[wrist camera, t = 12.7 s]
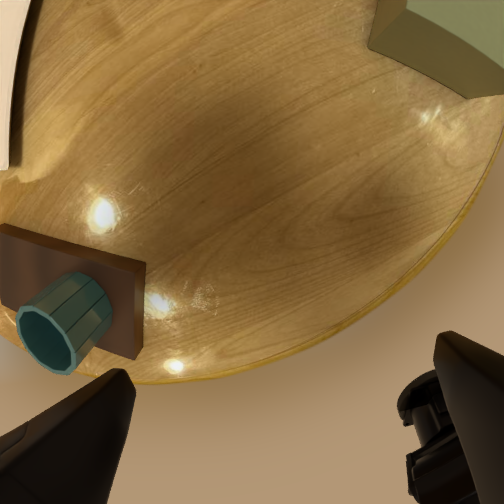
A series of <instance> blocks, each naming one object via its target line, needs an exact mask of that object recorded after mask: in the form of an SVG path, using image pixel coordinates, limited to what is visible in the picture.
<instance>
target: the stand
mask: <svg viewBox="0 0 504 504" xmlns="http://www.w3.org/2000/svg"><path fill="white" fill-rule="evenodd" d="M367 47H368V48H369V49H371V50H374V51H376V52H379V53H381V54H383V55H386V56H388V57H390V58H392V59H395V60H397V61H399V62H401V63H403V64H405V65H407V66H409V67H412V68H414V69H416V70H418V71H419V72H421V73H423V74H425V75H427V76H429V77H431V78H433V79H435V80H436V81H438V82H440V83H442V84H444V85H445V86H447V87H449V88H450V89H452V90H454V91H455V92H457V93H459V94H460V95H462V96H464V97H465V98H467V99H472V98H479V97H487V96H494V95H503V94H504V0H379V1H378V5H377V10H376V14H375V18H374V22H373V26H372V30H371V34H370V38H369V42H368V46H367Z"/></svg>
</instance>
